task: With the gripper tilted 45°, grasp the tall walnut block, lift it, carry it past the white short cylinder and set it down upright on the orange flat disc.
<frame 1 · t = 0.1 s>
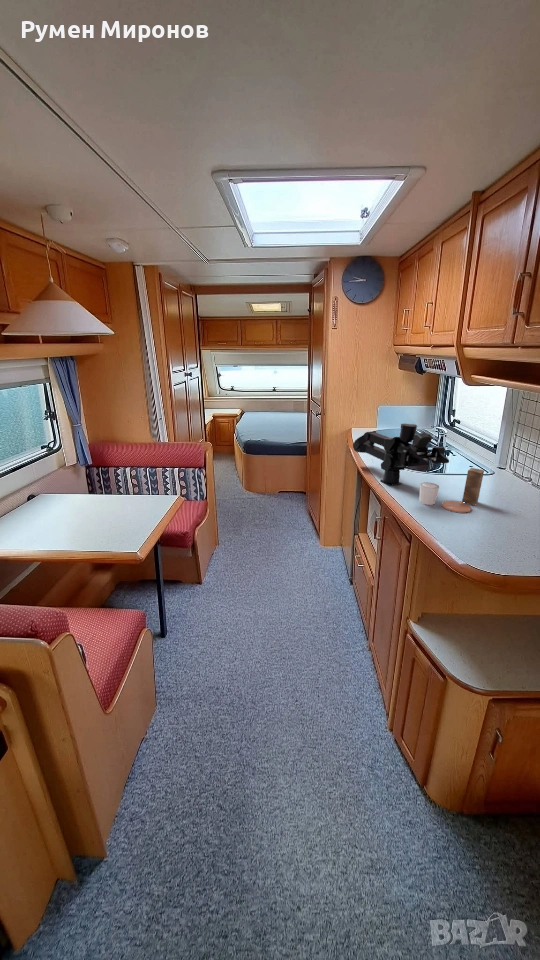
hand: (438, 462, 145), 17 cm above the table, tool horizontal, fingers open, 9 cm apart
orange flat disc: (456, 507, 148), on the table
walnut block: (469, 502, 154), on the table
white short cylinder: (426, 502, 153), on the table
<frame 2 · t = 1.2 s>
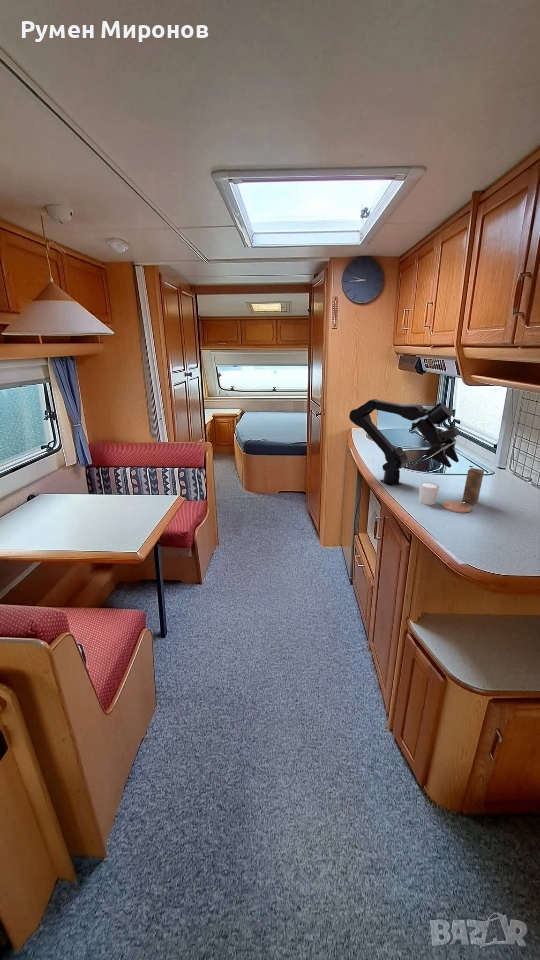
hand: (454, 464, 154), 14 cm above the table, tool tilted 45°, fingers open, 9 cm apart
nothing on the table moved.
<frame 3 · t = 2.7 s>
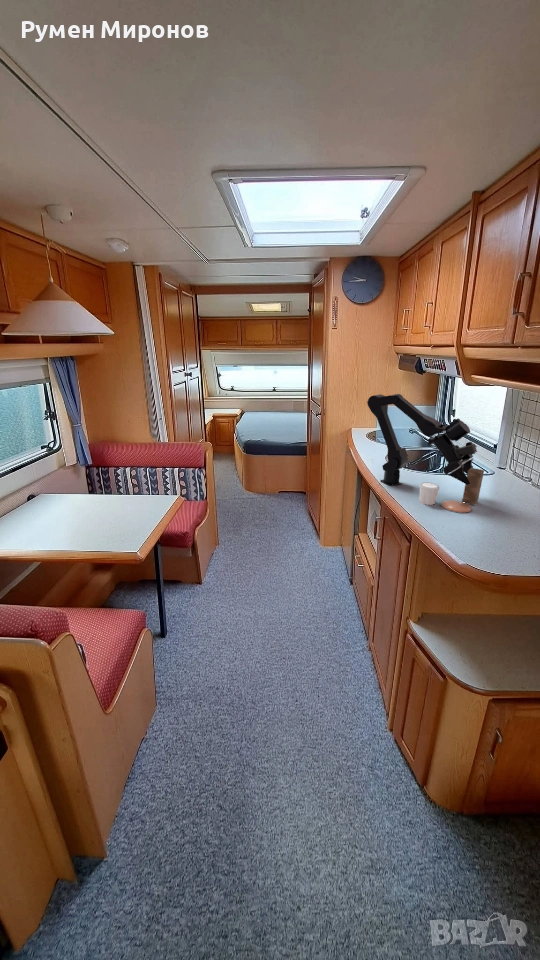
hand: (472, 481, 151), 8 cm above the table, tool tilted 45°, fingers open, 9 cm apart
nothing on the table moved.
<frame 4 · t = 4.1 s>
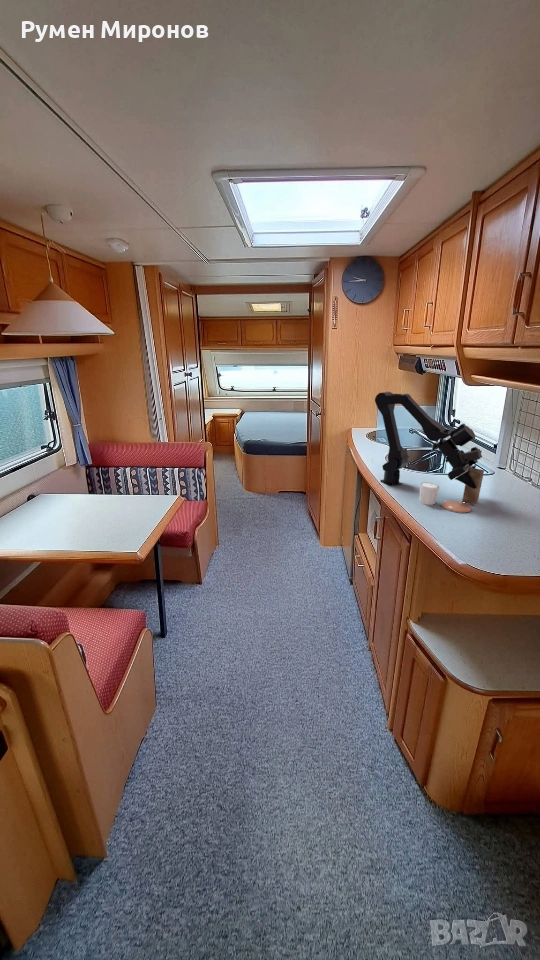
hand: (477, 486, 150), 7 cm above the table, tool tilted 45°, fingers closed on walnut block, 4 cm apart
walnut block: (469, 502, 154), on the table, touching gripper
everything else where it was.
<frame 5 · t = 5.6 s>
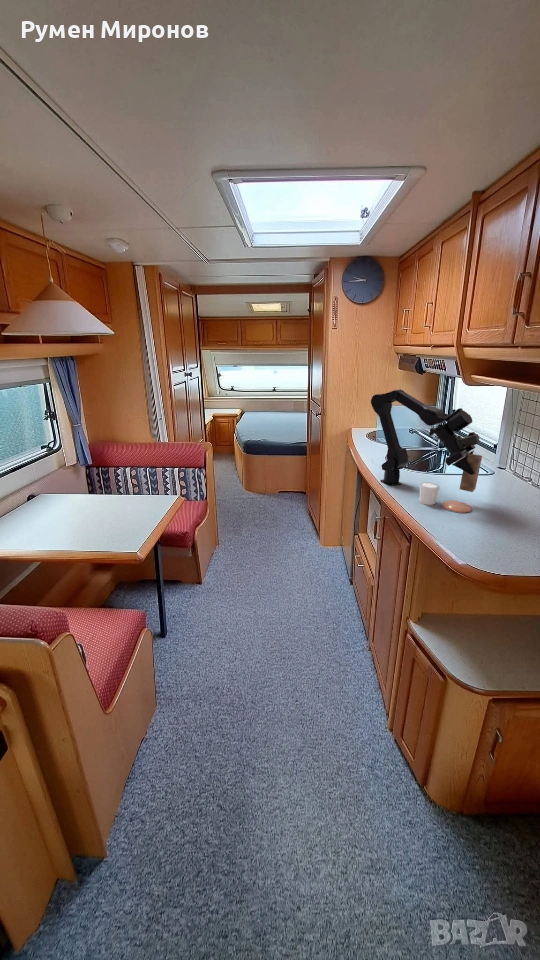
hand: (474, 472, 147), 13 cm above the table, tool tilted 45°, fingers closed on walnut block, 4 cm apart
walnut block: (467, 489, 150), point 6 cm above the table, touching gripper
everything else where it was.
when the fingers open (9 cm above the table, at t = 7.3 s): walnut block drops 1 cm, resting on orange flat disc.
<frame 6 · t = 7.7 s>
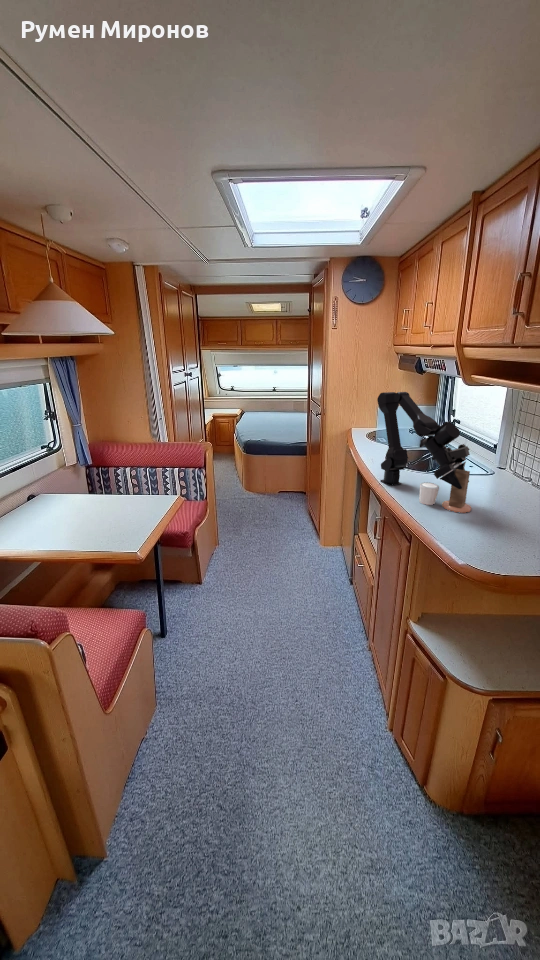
hand: (464, 485, 145), 9 cm above the table, tool tilted 45°, fingers open, 8 cm apart
walnut block: (456, 505, 148), point 1 cm above the table, touching orange flat disc
everything else where it was.
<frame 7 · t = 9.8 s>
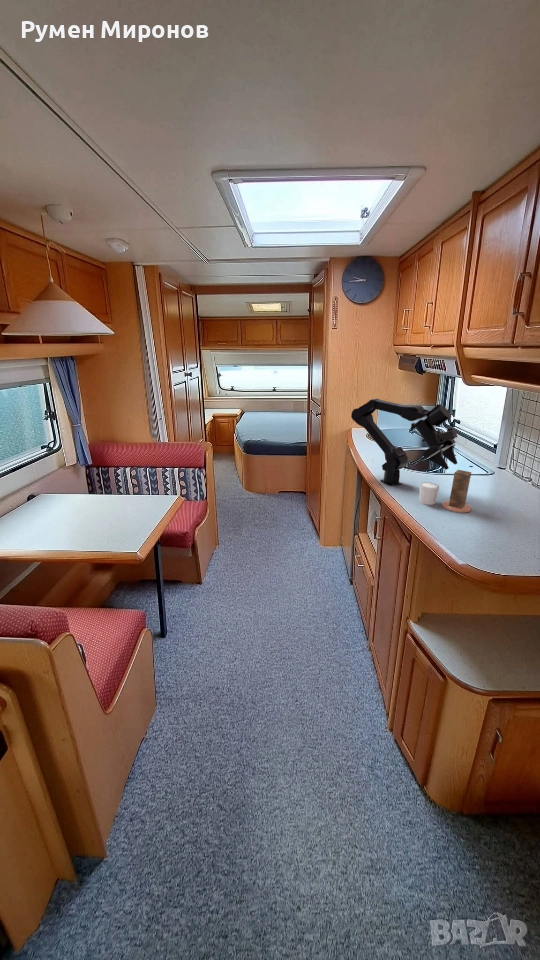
hand: (452, 466, 153), 13 cm above the table, tool tilted 45°, fingers open, 9 cm apart
nothing on the table moved.
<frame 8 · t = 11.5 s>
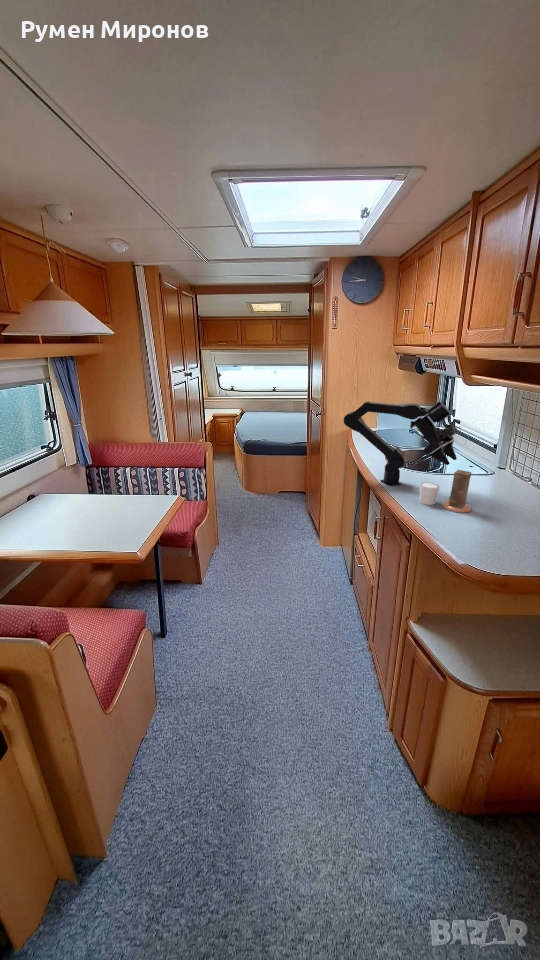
hand: (452, 462, 157), 14 cm above the table, tool tilted 45°, fingers open, 9 cm apart
nothing on the table moved.
at the end: walnut block 0.0 cm off-centre on the orange flat disc, point 0.8 cm above the orange flat disc's base; walnut block tilted 0°; white short cylinder moved 0.2 cm from its start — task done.
